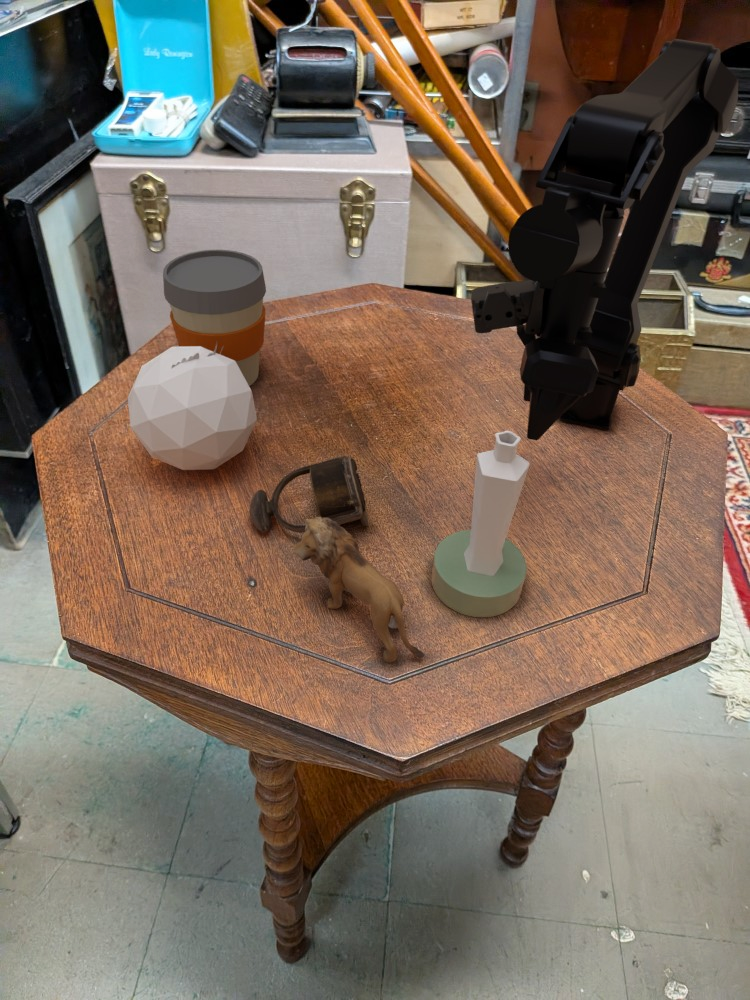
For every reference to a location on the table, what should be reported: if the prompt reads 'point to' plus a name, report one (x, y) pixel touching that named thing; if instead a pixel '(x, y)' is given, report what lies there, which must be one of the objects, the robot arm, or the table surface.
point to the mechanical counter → (318, 495)
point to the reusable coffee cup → (218, 304)
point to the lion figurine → (355, 579)
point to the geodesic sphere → (192, 408)
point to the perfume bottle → (494, 502)
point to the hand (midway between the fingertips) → (530, 419)
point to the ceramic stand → (476, 578)
